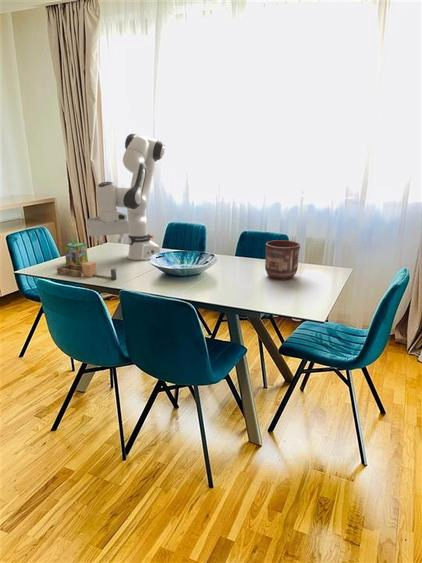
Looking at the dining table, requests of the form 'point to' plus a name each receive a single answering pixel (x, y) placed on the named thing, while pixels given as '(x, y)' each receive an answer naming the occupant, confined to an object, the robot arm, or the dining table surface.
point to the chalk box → (75, 253)
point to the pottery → (281, 259)
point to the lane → (70, 270)
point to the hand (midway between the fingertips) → (110, 243)
